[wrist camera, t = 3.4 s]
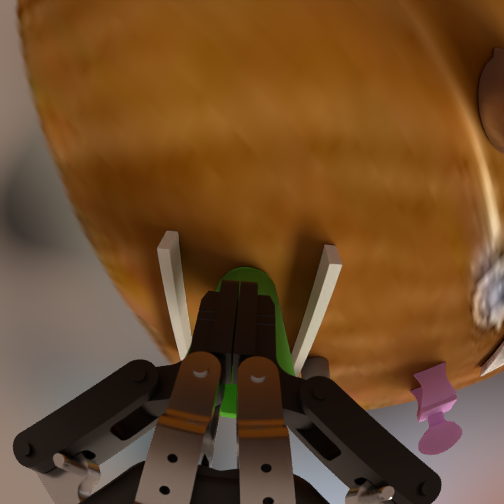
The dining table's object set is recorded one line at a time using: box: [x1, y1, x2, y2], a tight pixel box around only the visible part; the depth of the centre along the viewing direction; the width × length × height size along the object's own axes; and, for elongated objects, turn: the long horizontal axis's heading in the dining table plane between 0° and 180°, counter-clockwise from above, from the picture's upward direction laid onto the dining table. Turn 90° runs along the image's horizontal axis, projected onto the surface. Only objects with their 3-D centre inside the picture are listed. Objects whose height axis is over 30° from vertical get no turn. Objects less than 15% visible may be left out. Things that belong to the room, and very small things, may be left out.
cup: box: [185, 267, 295, 418], centre depth 21 cm, size 9×9×11 cm
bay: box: [157, 231, 342, 380], centre depth 25 cm, size 20×18×7 cm
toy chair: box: [410, 362, 462, 455], centre depth 31 cm, size 8×9×15 cm
